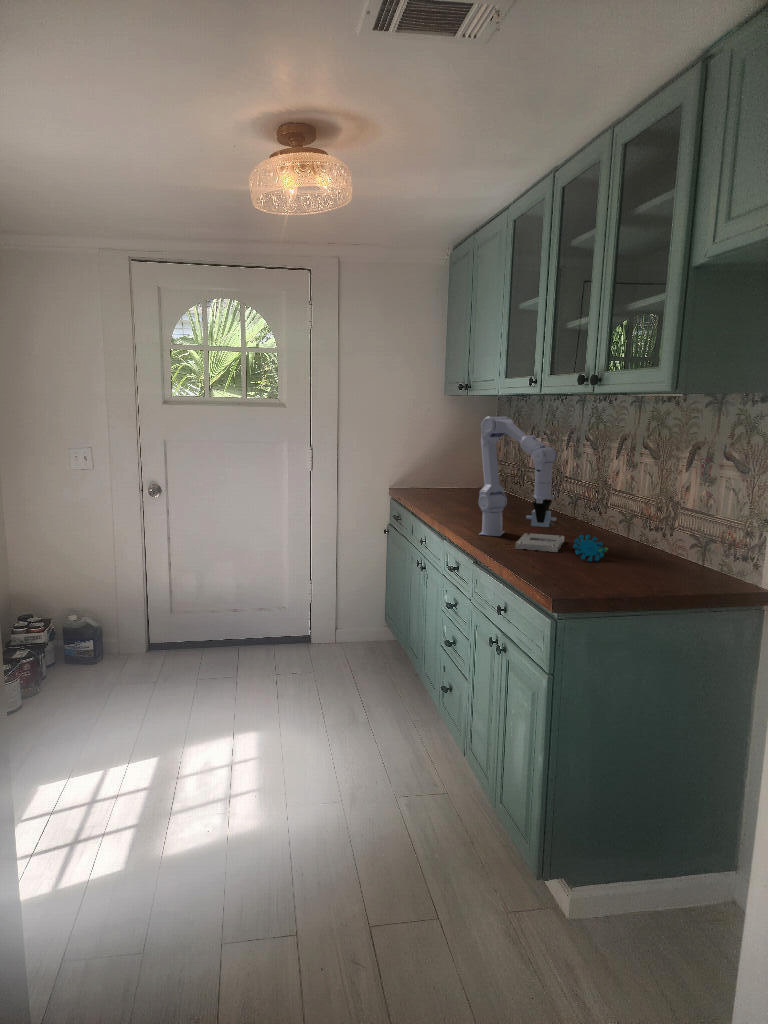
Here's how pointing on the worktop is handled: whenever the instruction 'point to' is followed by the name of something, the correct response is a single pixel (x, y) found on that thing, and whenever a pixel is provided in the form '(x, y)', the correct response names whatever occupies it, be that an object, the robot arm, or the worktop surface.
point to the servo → (546, 520)
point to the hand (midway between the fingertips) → (541, 521)
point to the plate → (540, 542)
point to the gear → (589, 548)
